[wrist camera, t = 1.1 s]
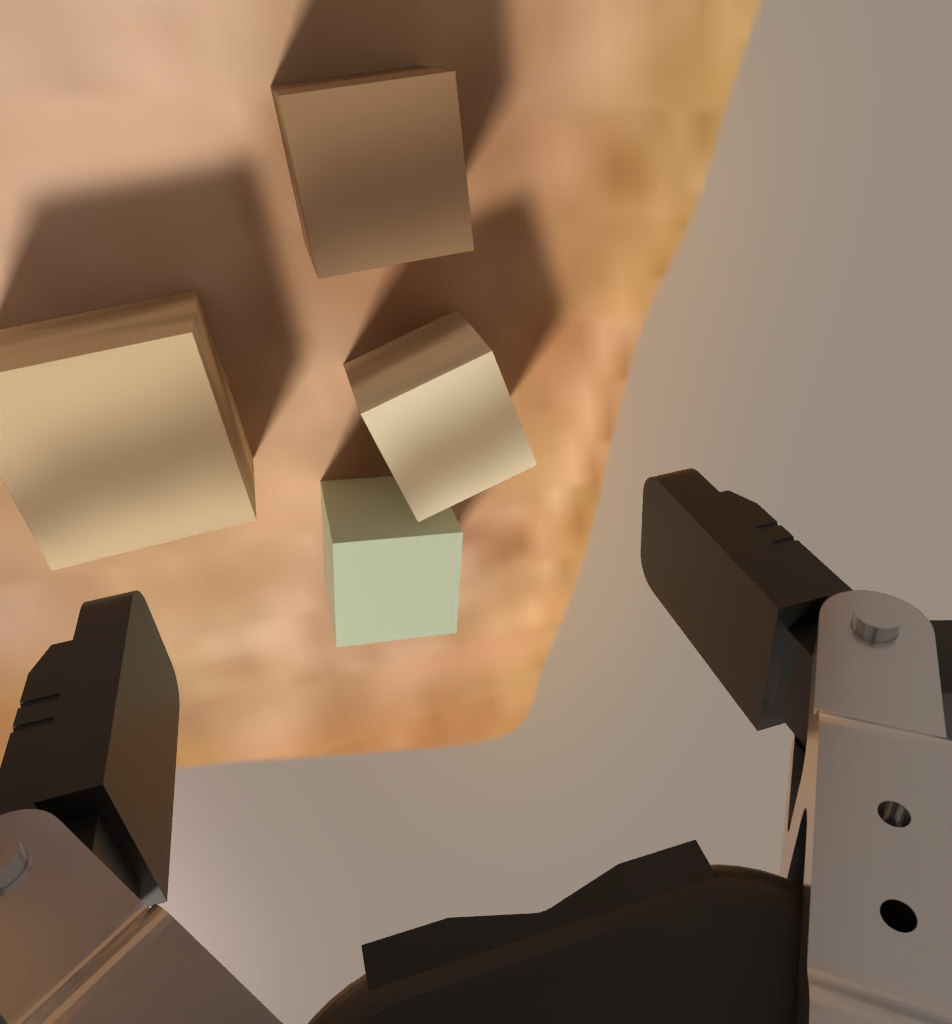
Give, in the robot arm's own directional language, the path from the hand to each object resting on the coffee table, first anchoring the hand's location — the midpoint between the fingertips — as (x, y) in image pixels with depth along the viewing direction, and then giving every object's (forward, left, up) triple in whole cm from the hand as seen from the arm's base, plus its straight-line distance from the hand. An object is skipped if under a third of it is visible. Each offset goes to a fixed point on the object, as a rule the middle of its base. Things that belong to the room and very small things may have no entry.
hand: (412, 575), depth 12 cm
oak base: (+4, -7, -20) cm, 21 cm away
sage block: (+12, +1, -20) cm, 23 cm away
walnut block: (-3, +3, -20) cm, 20 cm away
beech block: (+6, +4, -20) cm, 21 cm away
